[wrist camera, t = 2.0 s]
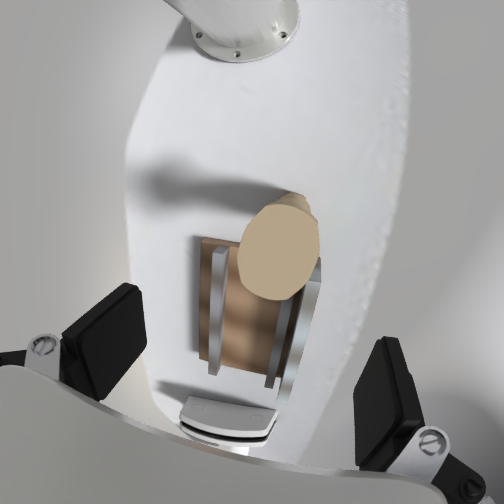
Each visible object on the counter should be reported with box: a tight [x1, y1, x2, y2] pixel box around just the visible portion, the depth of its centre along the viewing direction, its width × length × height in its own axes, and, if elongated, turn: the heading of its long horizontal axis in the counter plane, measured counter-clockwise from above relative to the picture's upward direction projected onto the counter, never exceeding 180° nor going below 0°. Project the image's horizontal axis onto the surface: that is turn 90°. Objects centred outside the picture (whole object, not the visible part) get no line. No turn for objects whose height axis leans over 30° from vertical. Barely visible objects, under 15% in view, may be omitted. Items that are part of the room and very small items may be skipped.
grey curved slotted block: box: [179, 396, 278, 447], centre depth 43 cm, size 17×5×10 cm, turn 91°
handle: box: [237, 192, 319, 300], centre depth 25 cm, size 5×6×15 cm
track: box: [199, 237, 321, 405], centre depth 35 cm, size 19×14×6 cm
